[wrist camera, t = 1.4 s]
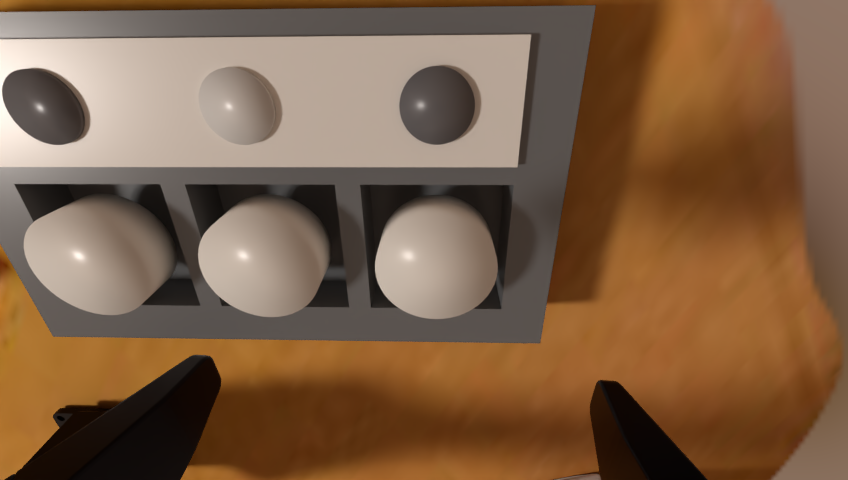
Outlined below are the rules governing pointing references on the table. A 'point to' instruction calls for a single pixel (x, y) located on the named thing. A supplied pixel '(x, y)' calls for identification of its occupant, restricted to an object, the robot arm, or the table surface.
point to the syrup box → (583, 477)
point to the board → (297, 147)
